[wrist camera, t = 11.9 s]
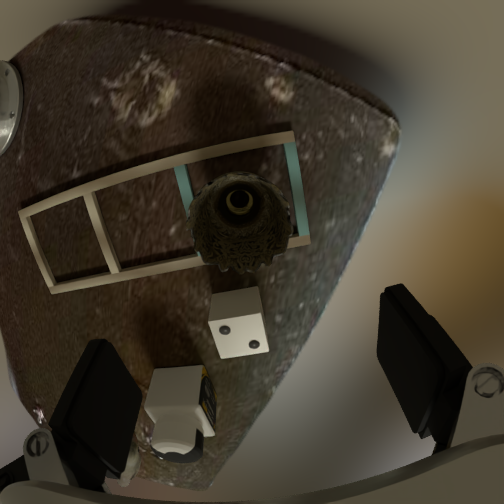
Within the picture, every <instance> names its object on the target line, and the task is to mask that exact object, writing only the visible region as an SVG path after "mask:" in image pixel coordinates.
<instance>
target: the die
mask: <svg viewBox="0 0 504 504" xmlns="http://www.w3.org/2000/svg"><path fill="white" fill-rule="evenodd" d="M208 322H209V325H210V328H211V331H212V334H213V337H214V340H215V343H216V346H217V348H218V351H219V354H220V357H221V359H223V358H230V357H237V356H244V355H250V354H257V353H263V352H269V346H268V338H267V330H266V322H265V318H264V313H263V308H262V303H261V299H260V294H259V289H258V286H255V287H250V288H244V289H239V290H233V291H227V292H222V293H216V294H212V298H211V305H210V312H209V320H208Z"/></svg>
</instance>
